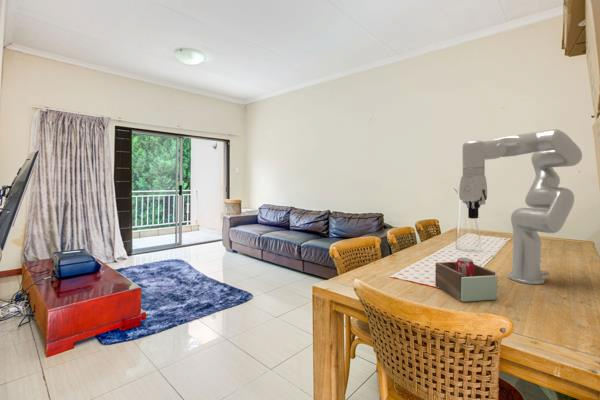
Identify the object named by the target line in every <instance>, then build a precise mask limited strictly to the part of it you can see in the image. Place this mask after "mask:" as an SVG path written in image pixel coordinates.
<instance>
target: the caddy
mask: <svg viewBox="0 0 600 400" xmlns="http://www.w3.org/2000/svg"><path fill="white" fill-rule="evenodd" d="M491 275H496V272H495V271H493V270H490V269H488V268H486V267H482V266H480V265H479V264H476V263H474V276H491ZM461 277H463V274H461V273H459V272H457V271H456V261H444V262H435V277H434V278H435V279H434V280H435V282H434V284H435V285H436V286H437V287H436V286H435V287H436V288H438V287H439V288H440V289H439V288H438V289H439V290H441V291H442V292H444V293H446V294H448V295H449V296H451V297H452V298H454V299H456V300H457V301H459V302H462V301H461Z"/></svg>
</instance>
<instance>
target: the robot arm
mask: <svg viewBox="0 0 600 400" xmlns="http://www.w3.org/2000/svg"><path fill="white" fill-rule="evenodd" d="M527 154H532V155H531V159H530V161H531V164H532V167H533V170H534V173H535V178H534V180H533V183H532V184H531V186H530V188H529V189H528V192H527V193H526V196H525V200H524V201H525V204H526V206H528V207H519V208H516V209H515V210H514V211H513V212H512V213H511V216H510V222H511V226H512V232H513V233H512V237H513V238H512V239H513V240H512V263H511V264H512V266H511V267H512V268H511V270H512V271H511V272H509V273H507V278H509V280H513V281H515V282H519V283H522V284H529V285H543V284H544V283H545V278H543V276H549V275H550V271H548V270H542V269H541V255H542V253H541V251H542V239H541V237H540V235H539V233H538V232H540V233H545V234H555V233H556V234H557V233H558V232H559V231H561V229H562V228H563V227H564V224H565V223H566V221H567V219H568V217H569V214H570V213H571V211H572V209H573V207H574V203H575V194H574V192H573V191H572V190H571V189H569V188H568V187H560V186H559V185H560V183H561V178H560V176H559V174H558V173H557V172H556V171H555V169H554V168H561V167H562V168H565V167H567V168H568V167H574V166H576V165H578V164H579V163H580V162H581V161H582V159H583V158H582V157H583V152H582V150H581V148H580V147H579V146H578V145H577V144H576V142H574V140H573V139H572V138H571V137H570V136H569V135H568V134H566V132H564V131H563V130H560V129H555V128H554V129H548V130H547V129H546V130H541V131H535V132H534V131H533V132H527V133H520V134H514V135H510V136H505V137H500V138H495V139H491V140H485V141H482V140H470V141H467V142H464V143H463V144H462V176H461V178H460V182H459V192H458V193H459V195H458V196H459V200H460V201H462V203H463V204H465V205H466V208H467V210H468V213H467V215H468V219H472V220H473V219H479V209H480V208H481V206H482V205H485V204H486V200H488V185H487V177H486V175H485V174H486V173H485V171H486V170H485V169H486V168H485V167H486V165H485V163H486V160H487V161H488V160H496V159H499V158H506V157H507V158H509V157H515V156H521V155H527Z"/></svg>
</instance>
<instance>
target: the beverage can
mask: <svg viewBox="0 0 600 400" xmlns="http://www.w3.org/2000/svg"><path fill="white" fill-rule="evenodd" d="M455 262H456V271H457V272H459V273H461V274H463V277H474V264H475V263H474V261H473V259H471V258H467V257H458V258H457V260H456V261H455Z"/></svg>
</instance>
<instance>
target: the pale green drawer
mask: <svg viewBox="0 0 600 400" xmlns="http://www.w3.org/2000/svg"><path fill="white" fill-rule="evenodd" d="M489 300H490V301H493V300H498V275H496V274H495V275H491V276H474V277H461V301H460V302H463V303H464V302H465V303H466V302H475V301H476V302H477V301H489Z"/></svg>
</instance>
